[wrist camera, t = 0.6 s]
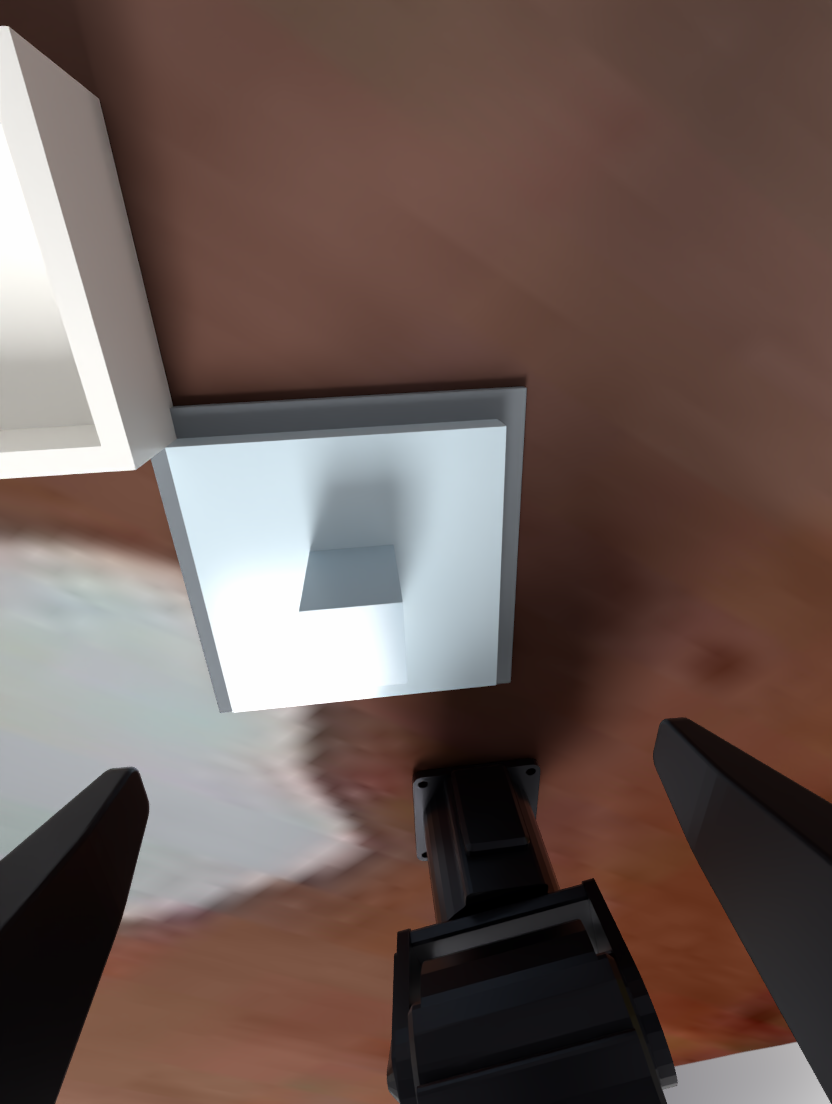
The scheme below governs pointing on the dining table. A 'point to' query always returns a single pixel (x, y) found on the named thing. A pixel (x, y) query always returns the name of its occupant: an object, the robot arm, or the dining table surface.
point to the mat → (352, 414)
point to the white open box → (69, 286)
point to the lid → (347, 558)
